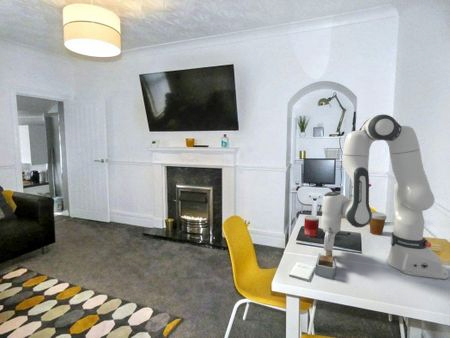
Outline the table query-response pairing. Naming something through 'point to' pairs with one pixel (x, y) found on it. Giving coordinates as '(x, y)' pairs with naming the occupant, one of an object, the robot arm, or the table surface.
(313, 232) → the canned food
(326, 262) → the towed block
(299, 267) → the external hard drive
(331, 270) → the lane
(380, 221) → the disposable coffee cup
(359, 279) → the table surface
